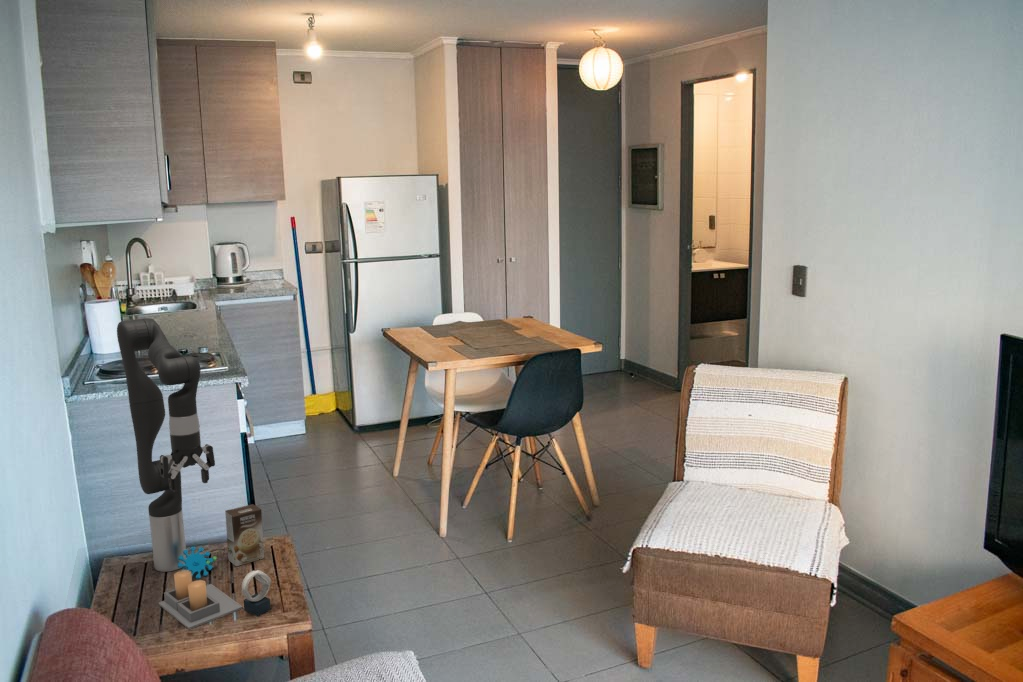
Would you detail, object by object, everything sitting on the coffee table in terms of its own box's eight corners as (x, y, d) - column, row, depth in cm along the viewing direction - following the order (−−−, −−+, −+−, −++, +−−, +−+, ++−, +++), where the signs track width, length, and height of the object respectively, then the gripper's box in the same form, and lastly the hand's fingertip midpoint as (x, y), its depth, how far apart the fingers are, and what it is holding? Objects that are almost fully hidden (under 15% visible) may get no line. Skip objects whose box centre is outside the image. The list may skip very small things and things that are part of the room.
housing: (158, 604, 230) (155, 575, 228) (211, 585, 240) (208, 557, 238) (188, 629, 217) (186, 599, 215) (242, 608, 227) (240, 579, 225)
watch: (276, 606, 228) (273, 568, 226) (252, 619, 221) (249, 580, 219) (262, 600, 231) (259, 563, 229) (238, 613, 224) (235, 575, 222)
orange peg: (187, 611, 224) (185, 584, 223) (203, 605, 227) (201, 578, 226) (194, 617, 221) (192, 589, 220) (210, 611, 224) (208, 583, 223)
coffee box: (236, 567, 251) (232, 516, 248) (228, 560, 256) (223, 510, 253) (265, 558, 257) (261, 509, 254) (256, 551, 262) (253, 503, 259)
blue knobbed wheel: (181, 579, 240) (176, 547, 245) (176, 588, 244) (171, 556, 249) (220, 574, 247) (214, 542, 252) (215, 582, 251) (209, 551, 256)
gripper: (203, 421, 234) (208, 476, 237) (152, 432, 224) (158, 490, 227) (216, 427, 228) (220, 483, 231) (164, 438, 218) (169, 497, 222)
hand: (189, 486), depth 229 cm, fingers open, 8 cm apart
